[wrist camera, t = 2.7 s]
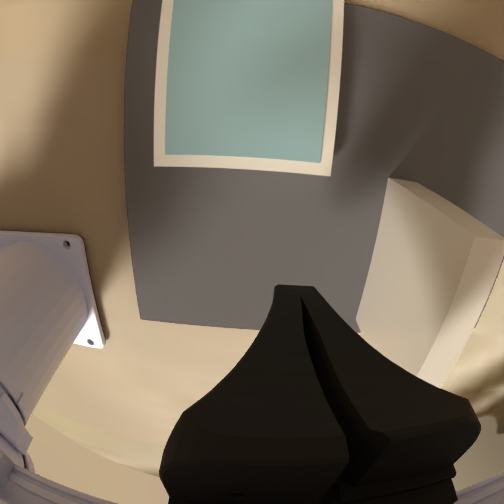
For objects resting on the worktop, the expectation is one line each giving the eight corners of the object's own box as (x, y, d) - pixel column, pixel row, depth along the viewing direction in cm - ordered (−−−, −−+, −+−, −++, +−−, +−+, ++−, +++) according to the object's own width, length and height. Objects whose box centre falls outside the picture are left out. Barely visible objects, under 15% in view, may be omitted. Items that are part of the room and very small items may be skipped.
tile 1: (165, 159, 13) (153, 167, 12) (174, -7, 10) (164, -20, 8) (322, 168, 13) (331, 177, 12) (335, 0, 10) (344, -12, 8)
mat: (143, 314, 18) (140, 319, 17) (136, 1, 10) (132, -1, 10) (471, 323, 18) (475, 327, 17) (530, 80, 11) (535, 80, 10)
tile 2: (355, 318, 17) (391, 418, 11) (388, 177, 13) (474, 236, 7) (382, 318, 17) (425, 413, 11) (418, 182, 13) (510, 241, 7)
